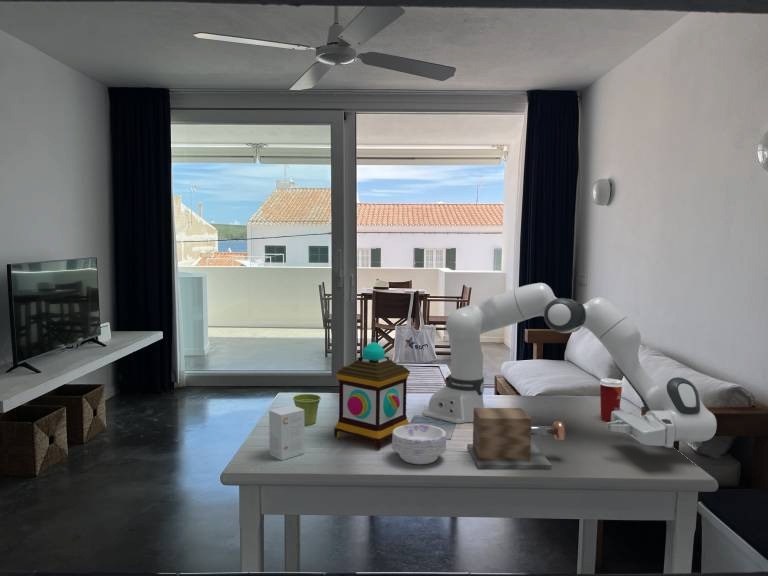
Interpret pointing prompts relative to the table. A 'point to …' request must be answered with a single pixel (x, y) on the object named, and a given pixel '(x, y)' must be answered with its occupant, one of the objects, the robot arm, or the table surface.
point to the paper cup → (610, 397)
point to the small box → (286, 432)
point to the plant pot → (308, 406)
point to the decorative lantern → (372, 396)
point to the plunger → (550, 430)
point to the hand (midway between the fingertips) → (609, 426)
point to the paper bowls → (419, 443)
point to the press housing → (504, 440)
